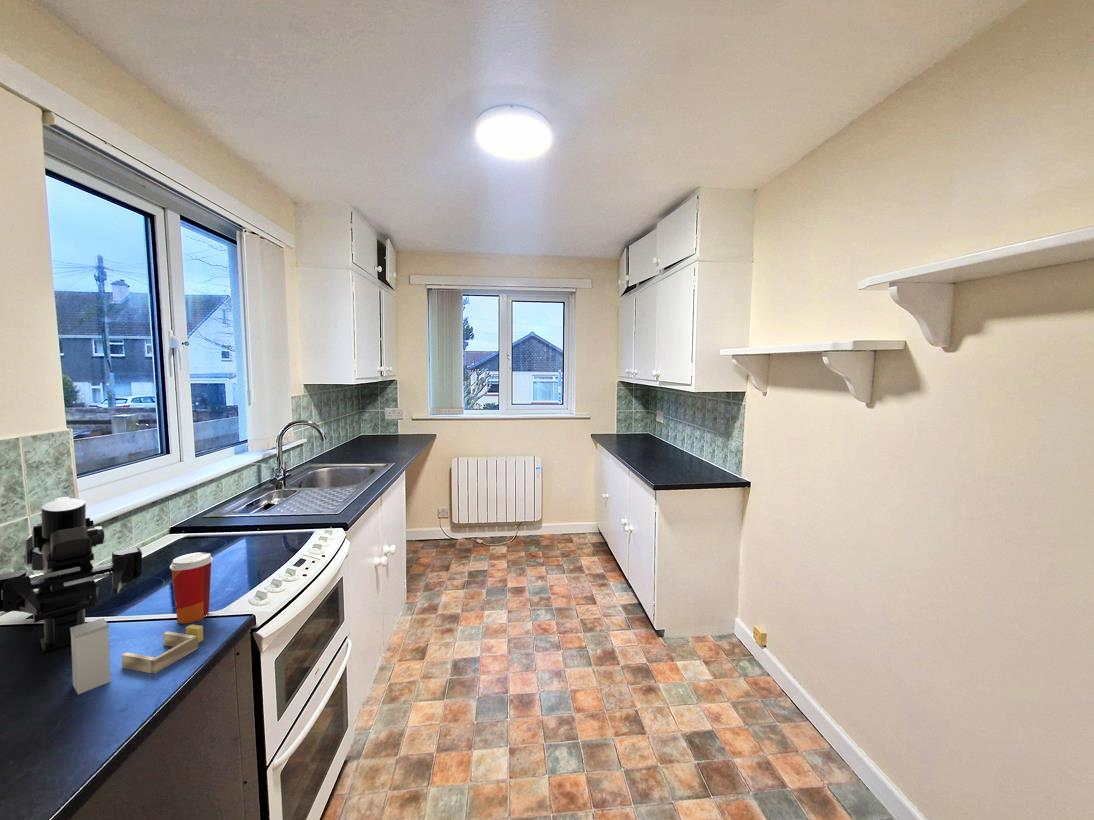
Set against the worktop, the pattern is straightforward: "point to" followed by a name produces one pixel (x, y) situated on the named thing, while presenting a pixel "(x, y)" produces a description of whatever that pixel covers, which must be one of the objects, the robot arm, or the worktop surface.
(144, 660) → the bay
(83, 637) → the white plug
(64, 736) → the worktop surface
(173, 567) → the paper cup
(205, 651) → the worktop surface
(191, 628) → the mustard block
